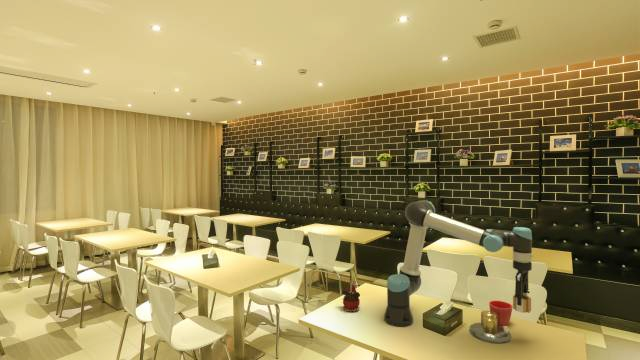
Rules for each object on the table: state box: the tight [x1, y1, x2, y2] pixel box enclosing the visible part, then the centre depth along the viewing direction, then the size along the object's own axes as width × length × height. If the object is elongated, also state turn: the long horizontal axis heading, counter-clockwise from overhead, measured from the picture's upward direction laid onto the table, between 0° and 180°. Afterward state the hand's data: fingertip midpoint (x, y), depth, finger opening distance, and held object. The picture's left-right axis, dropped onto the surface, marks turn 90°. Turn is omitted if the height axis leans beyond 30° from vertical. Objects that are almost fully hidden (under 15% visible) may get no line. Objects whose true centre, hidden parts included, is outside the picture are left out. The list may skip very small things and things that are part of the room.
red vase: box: [342, 278, 361, 312], centre depth 193 cm, size 11×9×18 cm
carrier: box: [469, 309, 512, 344], centre depth 163 cm, size 18×20×8 cm
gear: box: [512, 294, 532, 314], centre depth 155 cm, size 7×7×6 cm
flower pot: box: [488, 300, 513, 327], centre depth 174 cm, size 11×11×10 cm
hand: (521, 309), depth 155 cm, fingers closed on gear, 7 cm apart
